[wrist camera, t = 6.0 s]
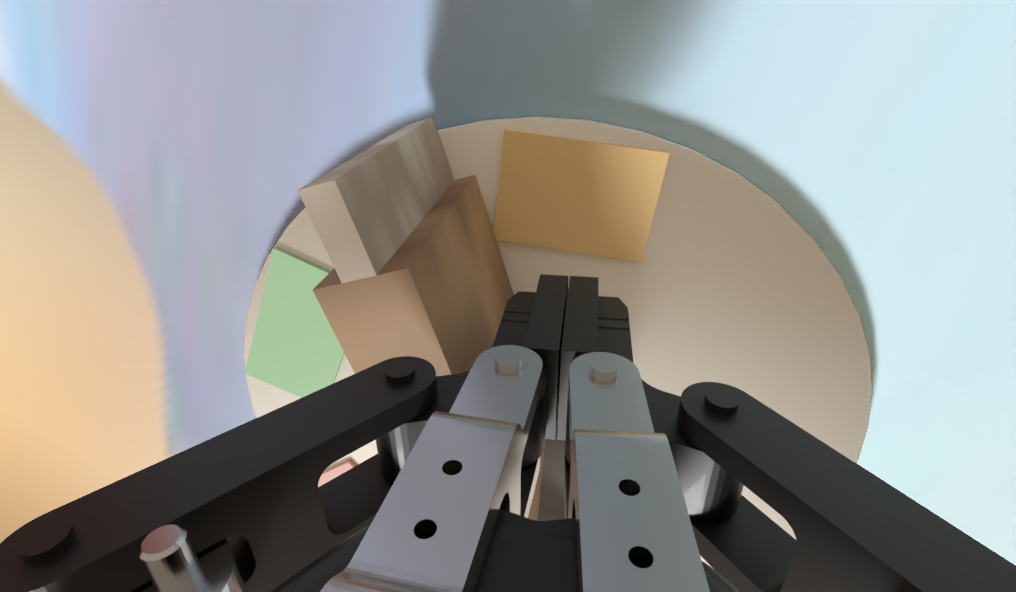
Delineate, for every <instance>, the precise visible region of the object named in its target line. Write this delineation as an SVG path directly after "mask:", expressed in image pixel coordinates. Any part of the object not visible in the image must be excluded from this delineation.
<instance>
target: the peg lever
mask: <svg viewBox="0 0 1016 592" xmlns="http://www.w3.org/2000/svg"><path fill="white" fill-rule="evenodd" d="M298 192H299V194H300V196H301V199H302V201H303V203H304V205H305V207H306V209H307V211H308V213H309V215H310V217H311V220H312V222H313V224H314V226H315V228H316V230H317V232H318V234H319V236H320V238H321V241H322V243H323V245H324V247H325V249H326V251H327V253H328V255H329V257H330V259H331V262H332V264H333V266H334V269H333V270H332V271H331V272H330V273H329V274H328V275H327V276H326V277H325V278H324V279H323V280H322V281H321V282H320V283H319V284H318V285H317V286H316V287H315V288H314V289H313V292H314V294H315V296H316V298H317V300H318V302H319V304H320V306H321V308H322V310H323V312H324V314H325V316H326V318H327V320H328V322H329V324H330V326H331V328H332V330H333V332H334V334H335V336H336V338H337V340H338V341H339V343H340V345H341V347H342V349H343V351H344V353H345V355H346V357H347V359H348V361H349V363H350V365H351V367H352V369H353V371H354V373H355V374H356V373H358V372H360V371H362V370H364V369H367V368H369V367H371V366H373V365H375V364H378V363H380V362H382V361H385V360H387V359H391V358H395V357H402V356H412V357H418V358H422V359H425V360H427V361H428V362H430V363H431V364H432V365H433V366H434V368H435V371H436V376H444V375H452V374H459V373H463V372H467V371H470V370H471V368H472V366H473V364H474V362H475V360H476V359H477V357H478V356H479V355H480V354H481V353H482V352H484V351H486V350H488V349H490V348H492V346H493V343H494V340H495V337H496V334H497V331H498V328H499V325H500V322H501V319H502V316H503V313H504V310H505V307H506V304H507V301H508V300H509V299H510V298H511V297H512V296H514V294H513V291H512V288H511V285H510V282H509V278H508V275H507V272H506V269H505V266H504V263H503V260H502V257H501V254H500V250H499V247H498V244H497V241H496V238H495V235H494V232H493V229H492V226H491V222H490V219H489V216H488V213H487V210H486V207H485V204H484V201H483V197H482V194H481V191H480V188H479V185H478V182H477V179H476V176H475V175H472V176H468V177H464V178H461V179H457V180H454V177H453V174H452V171H451V168H450V165H449V162H448V159H447V156H446V153H445V150H444V147H443V145H442V142H441V139H440V136H439V133H438V130H437V127H436V124H435V121H434V118H433V117H430V118H427V119H424V120H420V121H417V122H414V123H411V124H408V125H406V126H405V127H403V128H401V129H400V130H398V131H396V132H395V133H393V134H391V135H390V136H388V137H386V138H385V139H383V140H381V141H380V142H378V143H376V144H375V145H373V146H371V147H369V148H368V149H366V150H364V151H363V152H361V153H359V154H358V155H356V156H354V157H353V158H351V159H349V160H348V161H346V162H344V163H343V164H341V165H339V166H338V167H336V168H334V169H332V170H331V171H329V172H327V173H326V174H324V175H322V176H321V177H319V178H317V179H316V180H314V181H312V182H311V183H309V184H307V185H306V186H304V187H302V188H301V189H299V190H298ZM558 412H559V409H558ZM557 435H558V417H557V427H556V436H555V440H551V439H545V441H544V449H543V453H542V454H541V456H540V470H539V474H538V478H537V482H536V486H535V490H534V495H533V499H532V503H531V507H530V511H529V515H528V519H531V520H535V521H549V520H559V519H565V507H564V458H565V441H563V440H557Z"/></svg>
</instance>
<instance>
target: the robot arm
mask: <svg viewBox="0 0 1016 592" xmlns="http://www.w3.org/2000/svg"><path fill="white" fill-rule="evenodd" d="M568 282H569V289H568ZM558 408H559V412H558ZM557 417H558V435H557V440H563V441H565V458H564V507H565V519H559V520H549V521H535V520H531V519H528V515H529V511H530V507H531V503H532V499H533V495H534V490H535V486H536V482H537V478H538V474H539V470H540V456H541V454H542V453H543V449H544V441H545V439H551V440H555V436H556V427H557ZM375 439H376V445H377V451H378V454H376V455H374V456H372V457H371V458H369V459H367V460H365V461H364V462H362V463H360V464H358V465H357V466H355V467H353V468H351V469H350V470H348V471H346V472H344V473H343V474H341V475H339V476H337V477H336V478H334V479H332V480H330V481H329V482H327V483H325V484H323V485H322V486H320V487H318V482H319V479H320V477H321V475H322V473H323V472H324V471H325V469H326V468H327V467H328V466H330V465H331V464H332V463H334V462H336V461H337V460H339V459H341V458H343V457H345V456H346V455H348V454H350V453H352V452H354V451H356V450H357V449H359V448H361V447H363V446H365V445H366V444H368V443H370V442H372V441H374V440H375ZM743 486H745V487H747V488H748V489H749V490H750V491H752V492H753V493H754V494H755V495H757V496H758V497H759V498H760V499H762V500H763V501H764V502H765V503H767V504H768V505H769V506H770V507H771V508H773V509H774V510H775V511H776V512H778V513H779V514H780V515H781V516H782V517H783V518H784V519H785V520H786V521H787V522H788V523H789V525H790V526H791V528H792V529H793V532H794V534H795V537H796V539H794V538H793V537H792V536H791V535H790V534H788V533H787V532H786V531H785V530H783V529H782V528H781V527H780V526H779V525H777V524H776V523H775V522H774V521H773V520H771V519H770V518H769V517H768V516H767V515H765V514H764V513H763V512H762V511H761V510H759V509H758V508H757V507H756V506H755V505H753V504H752V503H751V502H750V501H749V500H747V499H746V498H745V497H744V496H742V495H741V493H742V490H743ZM700 556H701V557H702V558H703V559H704V560H705V561H706V562H707V563H708V564H709V565H710V566H711V567H710V566H709V565H708V564H706V563H705V562H703V561H701V557H700ZM0 592H1016V566H1015V565H1013V564H1012V563H1010V562H1009V561H1007V560H1006V559H1004V558H1003V557H1001V556H999V555H998V554H996V553H995V552H993V551H992V550H990V549H989V548H987V547H985V546H984V545H982V544H981V543H979V542H978V541H976V540H975V539H973V538H971V537H970V536H968V535H967V534H965V533H964V532H962V531H961V530H959V529H957V528H956V527H954V526H953V525H951V524H950V523H948V522H947V521H945V520H943V519H942V518H940V517H939V516H937V515H936V514H934V513H933V512H931V511H929V510H928V509H926V508H925V507H923V506H922V505H920V504H918V503H917V502H915V501H914V500H912V499H911V498H909V497H908V496H906V495H904V494H903V493H901V492H900V491H898V490H897V489H895V488H894V487H892V486H890V485H889V484H887V483H886V482H884V481H883V480H881V479H880V478H878V477H876V476H875V475H873V474H872V473H870V472H869V471H867V470H866V469H864V468H862V467H861V466H859V465H858V464H856V463H855V462H853V461H852V460H850V459H848V458H847V457H845V456H844V455H842V454H841V453H839V452H838V451H836V450H834V449H833V448H831V447H830V446H828V445H827V444H825V443H824V442H822V441H820V440H819V439H817V438H816V437H814V436H813V435H811V434H810V433H808V432H806V431H805V430H803V429H802V428H800V427H799V426H797V425H795V424H794V423H792V422H791V421H789V420H788V419H786V418H785V417H783V416H781V415H780V414H778V413H777V412H775V411H774V410H772V409H771V408H769V407H767V406H766V405H764V404H763V403H761V402H760V401H758V400H757V399H755V398H753V397H752V396H750V395H749V394H747V393H746V392H744V391H742V390H740V389H738V388H736V387H733V386H730V385H727V384H723V383H717V382H700V383H696V384H692V385H690V386H688V387H687V388H686V389H685V390H684V391H683V392H682V395H681V396H678V395H674V394H671V393H667V392H664V391H661V390H659V389H656V388H654V387H652V386H651V385H649V384H647V383H646V382H645V381H643V380H642V379H641V376H640V372H639V370H638V368H637V367H636V365H635V364H634V363H633V354H632V344H631V334H630V324H629V314H628V307H627V306H626V305H625V304H624V303H623V302H622V301H621V300H620V299H619V297H605V296H598V277H583V276H570V280H569V276H564V275H547V274H540V278H539V282H538V286H537V290H536V292H523V291H519V292H517V293H516V294H515V295H514V296H512V297H511V298H510V299H509V300H508V301H507V304H506V307H505V310H504V313H503V316H502V319H501V322H500V325H499V328H498V331H497V334H496V337H495V340H494V343H493V346H492V348H490V349H488V350H486V351H484V352H482V353H481V354H480V355H479V356H478V357H477V359H476V360H475V362H474V364H473V366H472V368H471V370H470V371H467V372H463V373H459V374H452V375H444V376H436V371H435V368H434V366H433V365H432V364H431V363H430V362H428V361H427V360H425V359H422V358H418V357H412V356H402V357H395V358H391V359H387V360H385V361H382V362H380V363H378V364H375V365H373V366H371V367H369V368H367V369H364V370H362V371H360V372H358V373H356V374H353V375H351V376H349V377H347V378H344V379H342V380H340V381H338V382H336V383H333V384H331V385H329V386H327V387H325V388H322V389H320V390H318V391H316V392H313V393H311V394H309V395H307V396H305V397H302V398H300V399H298V400H296V401H294V402H291V403H289V404H287V405H285V406H283V407H280V408H278V409H276V410H274V411H271V412H269V413H267V414H265V415H263V416H260V417H258V418H256V419H254V420H252V421H249V422H247V423H245V424H243V425H240V426H238V427H236V428H234V429H232V430H229V431H227V432H225V433H223V434H221V435H218V436H216V437H214V438H212V439H209V440H207V441H205V442H203V443H201V444H198V445H196V446H194V447H192V448H190V449H187V450H185V451H183V452H181V453H179V454H176V455H174V456H172V457H170V458H167V459H165V460H163V461H161V462H159V463H157V464H154V465H152V466H150V467H148V468H145V469H143V470H141V471H139V472H136V473H134V474H132V475H130V476H128V477H126V478H123V479H121V480H119V481H117V482H114V483H112V484H110V485H108V486H106V487H103V488H101V489H99V490H97V491H94V492H92V493H90V494H88V495H86V496H84V497H81V498H79V499H77V500H75V501H72V502H70V503H68V504H66V505H63V506H61V507H59V508H57V509H55V510H52V511H50V512H48V513H46V514H44V515H42V516H40V517H38V518H36V519H34V520H32V521H31V522H29V523H27V524H25V525H24V526H22V527H21V528H19V529H18V530H16V531H15V532H14V533H12V534H11V535H10V536H9V537H7V538H6V539H5V540H4V541H3V542H2V543H1V544H0Z"/></svg>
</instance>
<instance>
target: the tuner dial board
mask: <svg viewBox="0 0 1016 592" xmlns="http://www.w3.org/2000/svg"><path fill="white" fill-rule="evenodd" d="M438 133H439V136H440V139H441V142H442V145H443V147H444V150H445V153H446V156H447V159H448V162H449V165H450V168H451V171H452V174H453V177H454V180H457V179H461V178H464V177H468V176H472V175H475V176H476V179H477V182H478V185H479V188H480V191H481V194H482V197H483V201H484V204H485V207H486V210H487V213H488V216H489V219H490V222H491V226H492V229H493V232H494V235H495V238H496V241H497V244H498V247H499V250H500V254H501V257H502V260H503V263H504V266H505V269H506V272H507V275H508V278H509V282H510V285H511V288H512V291H513V294H514V295H515V294H516V293H517V292H519V291H523V292H536V290H537V286H538V282H539V278H540V274H547V275H564V276H569V280H570V276H583V277H598V296H605V297H619V299H620V300H621V301H622V302H623V303H624V304H625V305H626V306H627V307H628V314H629V324H630V334H631V344H632V354H633V363H634V364H635V365H636V367H637V368H638V370H639V372H640V376H641V379H642V380H643V381H645V382H646V383H647V384H649V385H651V386H652V387H654V388H656V389H659V390H661V391H664V392H667V393H671V394H674V395H678V396H681V395H682V392H683V391H684V390H685V389H686V388H687V387H688V386H690V385H692V384H696V383H700V382H717V383H723V384H727V385H730V386H733V387H736V388H738V389H740V390H742V391H744V392H746V393H747V394H749V395H750V396H752V397H753V398H755V399H757V400H758V401H760V402H761V403H763V404H764V405H766V406H767V407H769V408H771V409H772V410H774V411H775V412H777V413H778V414H780V415H781V416H783V417H785V418H786V419H788V420H789V421H791V422H792V423H794V424H795V425H797V426H799V427H800V428H802V429H803V430H805V431H806V432H808V433H810V434H811V435H813V436H814V437H816V438H817V439H819V440H820V441H822V442H824V443H825V444H827V445H828V446H830V447H831V448H833V449H834V450H836V451H838V452H839V453H841V454H842V455H844V456H845V457H847V458H848V459H850V460H852V461H853V462H855V463H856V462H857V460H858V458H859V455H860V452H861V448H862V445H863V442H864V438H865V435H866V432H867V428H868V424H869V415H870V406H871V397H872V380H871V367H870V354H869V350H868V346H867V342H866V338H865V335H864V331H863V327H862V323H861V320H860V316H859V314H858V312H857V309H856V307H855V305H854V303H853V301H852V299H851V297H850V295H849V293H848V290H847V288H846V286H845V284H844V282H843V280H842V278H841V276H840V275H839V274H838V272H837V271H836V269H835V268H834V266H833V265H832V264H831V262H830V261H829V259H828V258H827V257H826V255H825V254H824V252H823V251H822V250H821V248H820V247H819V245H818V244H817V243H816V241H815V240H814V239H813V238H812V237H811V236H810V235H809V234H808V233H807V232H806V231H805V230H804V229H803V228H802V227H801V226H800V225H799V224H798V223H797V222H796V221H795V220H794V219H793V218H792V217H791V216H790V215H789V214H788V213H787V212H786V211H785V210H784V209H783V208H782V207H781V206H780V205H779V204H778V203H777V202H776V201H775V200H773V199H772V198H771V197H769V196H768V195H766V194H765V193H764V192H762V191H761V190H760V189H758V188H757V187H756V186H754V185H753V184H751V183H750V182H749V181H747V180H746V179H745V178H743V177H742V176H741V175H739V174H738V173H736V172H735V171H733V170H731V169H729V168H727V167H725V166H723V165H721V164H720V163H718V162H716V161H714V160H712V159H710V158H708V157H706V156H704V155H702V154H701V153H699V152H697V151H695V150H693V149H691V148H688V147H686V146H683V145H680V144H677V143H674V142H672V141H669V140H666V139H663V138H660V137H658V136H655V135H652V134H649V133H646V132H644V131H641V130H636V129H631V128H626V127H621V126H617V125H612V124H607V123H602V122H597V121H592V120H585V119H570V118H555V117H541V116H532V117H518V118H503V119H489V120H482V121H477V122H472V123H468V124H463V125H458V126H453V127H449V128H444V129H439V130H438ZM333 269H334V266H333V264H332V262H331V259H330V257H329V255H328V253H327V251H326V249H325V247H324V245H323V243H322V241H321V238H320V236H319V234H318V232H317V230H316V228H315V226H314V224H313V222H312V220H311V217H310V215H309V213H308V211H307V209H306V207H305V208H304V209H303V210H302V211H301V212H300V213H299V214H298V216H297V217H296V218H295V219H294V220H293V221H292V222H291V223H290V224H289V225H288V226H287V228H286V229H285V231H284V232H283V234H282V236H281V237H280V239H279V240H278V242H277V243H276V245H275V246H274V248H273V249H272V251H271V252H270V254H269V255H268V257H267V259H266V262H265V264H264V266H263V269H262V271H261V273H260V276H259V278H258V280H257V283H256V285H255V287H254V291H253V295H252V299H251V303H250V307H249V312H248V316H247V320H246V334H245V348H244V355H245V365H246V369H245V374H246V376H247V384H248V388H249V392H250V397H251V401H252V405H253V409H254V412H255V415H256V418H258V417H260V416H263V415H265V414H267V413H269V412H271V411H274V410H276V409H278V408H280V407H283V406H285V405H287V404H289V403H291V402H294V401H296V400H298V399H300V398H302V397H305V396H307V395H309V394H311V393H313V392H316V391H318V390H320V389H322V388H325V387H327V386H329V385H331V384H333V383H336V382H338V381H340V380H342V379H344V378H347V377H349V376H351V375H353V374H355V373H354V371H353V369H352V367H351V365H350V363H349V361H348V359H347V357H346V355H345V353H344V351H343V349H342V347H341V345H340V343H339V341H338V340H337V338H336V336H335V334H334V332H333V330H332V328H331V326H330V324H329V322H328V320H327V318H326V316H325V314H324V312H323V310H322V308H321V306H320V304H319V302H318V300H317V298H316V296H315V294H314V292H313V289H314V288H315V287H316V286H317V285H318V284H319V283H320V282H321V281H322V280H323V279H324V278H325V277H326V276H327V275H328V274H329V273H330V272H331V271H332V270H333ZM568 289H569V282H568ZM558 409H559V408H558ZM376 454H378V451H377V445H376V439H375V440H374V441H372V442H370V443H368V444H366V445H365V446H363V447H361V448H359V449H357V450H356V451H354V452H352V453H350V454H348V455H346V456H345V457H343V458H341V459H339V460H337V461H336V462H334V463H332V464H331V465H330V466H328V467H327V468H326V469H325V471H324V472H323V473H322V475H321V477H320V479H319V482H318V487H320V486H322V485H323V484H325V483H327V482H329V481H330V480H332V479H334V478H336V477H337V476H339V475H341V474H343V473H344V472H346V471H348V470H350V469H351V468H353V467H355V466H357V465H358V464H360V463H362V462H364V461H365V460H367V459H369V458H371V457H372V456H374V455H376ZM741 495H742V496H744V497H745V498H746V499H747V500H749V501H750V502H751V503H752V504H753V505H755V506H756V507H757V508H758V509H759V510H761V511H762V512H763V513H764V514H765V515H767V516H768V517H769V518H770V519H771V520H773V521H774V522H775V523H776V524H777V525H779V526H780V527H781V528H782V529H783V530H785V531H786V532H787V533H788V534H790V535H791V536H792V537H793V538H794V539H796V537H795V534H794V532H793V529H792V528H791V526H790V525H789V523H788V522H787V521H786V520H785V519H784V518H783V517H782V516H781V515H780V514H779V513H778V512H776V511H775V510H774V509H773V508H771V507H770V506H769V505H768V504H767V503H765V502H764V501H763V500H762V499H760V498H759V497H758V496H757V495H755V494H754V493H753V492H752V491H750V490H749V489H748V488H747V487H745V486H743V490H742V493H741ZM700 557H701V556H700ZM701 561H703V562H705V563H706V564H708V563H707V562H706V561H705V560H704V559H703V558H702V557H701ZM708 565H709V564H708ZM709 566H710V565H709ZM710 567H711V566H710Z"/></svg>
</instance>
